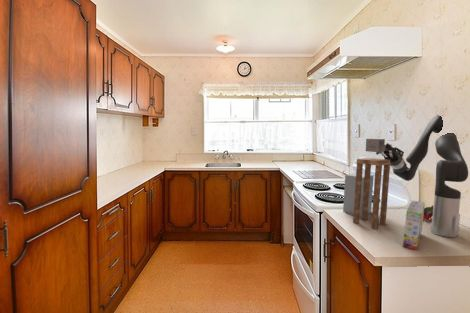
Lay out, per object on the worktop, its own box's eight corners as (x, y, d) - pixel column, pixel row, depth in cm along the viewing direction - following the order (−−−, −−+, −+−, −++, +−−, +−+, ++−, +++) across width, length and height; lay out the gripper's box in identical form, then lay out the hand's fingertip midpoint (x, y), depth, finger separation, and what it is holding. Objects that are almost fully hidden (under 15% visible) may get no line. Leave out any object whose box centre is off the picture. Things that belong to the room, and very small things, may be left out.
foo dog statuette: (430, 230, 141) (443, 217, 132) (410, 218, 146) (421, 206, 137) (435, 219, 145) (448, 207, 136) (415, 208, 150) (426, 196, 141)
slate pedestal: (371, 212, 155) (373, 175, 152) (360, 216, 147) (362, 177, 145) (354, 207, 162) (356, 172, 160) (343, 211, 155) (345, 174, 153)
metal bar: (394, 150, 139) (395, 138, 139) (378, 152, 128) (379, 139, 127) (382, 149, 144) (383, 138, 143) (365, 151, 133) (366, 138, 132)
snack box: (418, 251, 106) (422, 213, 104) (402, 247, 109) (405, 210, 108) (422, 234, 123) (425, 201, 121) (407, 231, 126) (410, 199, 125)
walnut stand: (385, 224, 135) (390, 159, 131) (375, 229, 128) (380, 161, 125) (363, 218, 143) (367, 157, 140) (353, 222, 137) (357, 158, 133)
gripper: (382, 152, 154) (371, 137, 143) (411, 154, 143) (400, 138, 133) (379, 164, 152) (366, 150, 142) (407, 167, 141) (396, 152, 131)
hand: (383, 144), depth 137 cm, fingers closed on metal bar, 3 cm apart
